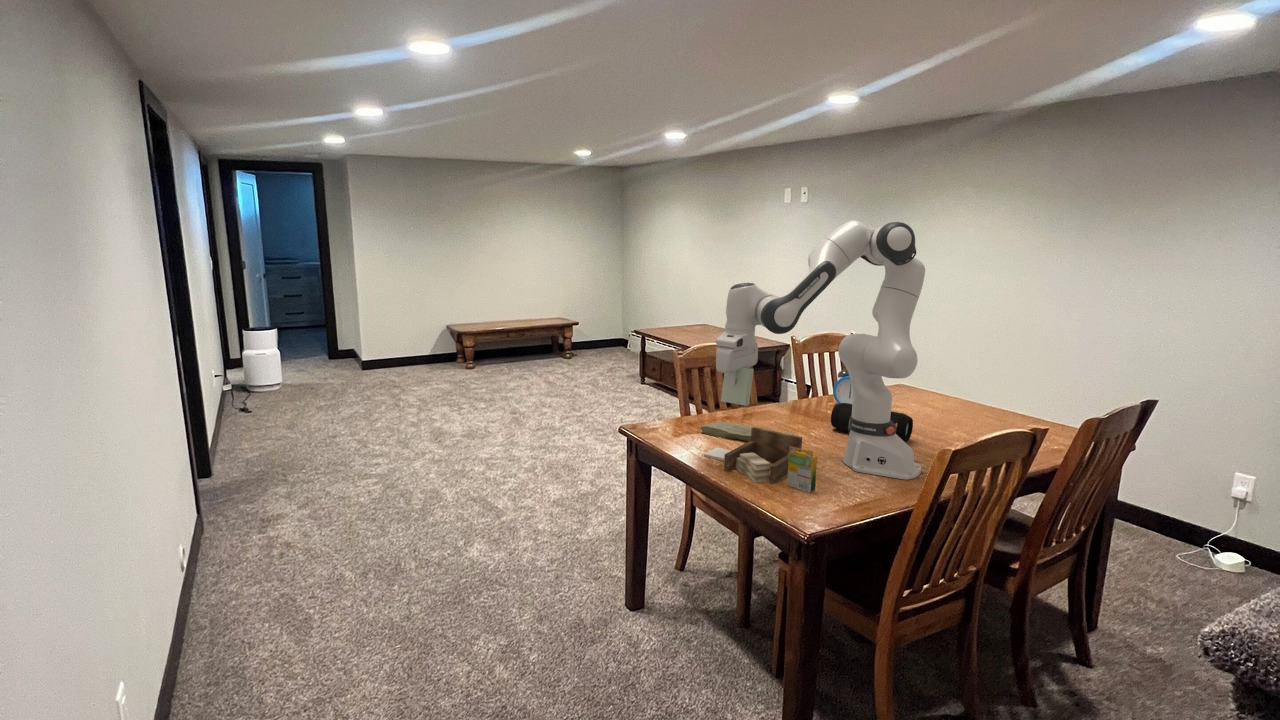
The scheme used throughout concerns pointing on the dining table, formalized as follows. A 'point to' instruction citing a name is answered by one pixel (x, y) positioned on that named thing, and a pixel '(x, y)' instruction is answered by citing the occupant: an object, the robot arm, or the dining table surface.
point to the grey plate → (717, 453)
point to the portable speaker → (903, 421)
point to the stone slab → (729, 430)
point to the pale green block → (738, 387)
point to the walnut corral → (766, 451)
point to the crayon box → (801, 469)
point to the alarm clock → (843, 388)
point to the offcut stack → (753, 467)
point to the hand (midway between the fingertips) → (736, 383)
